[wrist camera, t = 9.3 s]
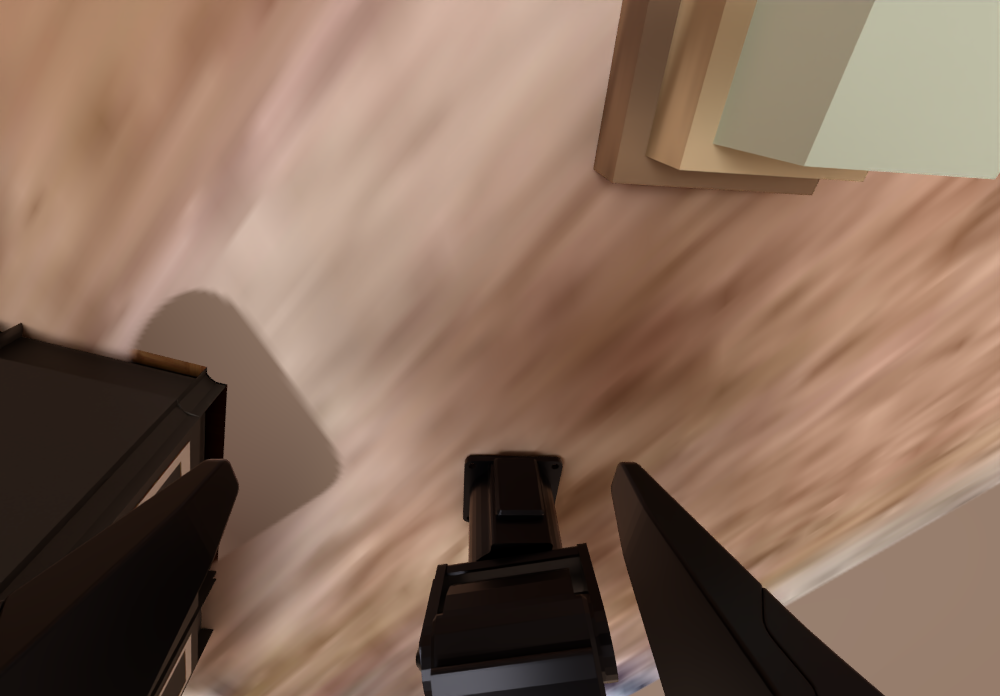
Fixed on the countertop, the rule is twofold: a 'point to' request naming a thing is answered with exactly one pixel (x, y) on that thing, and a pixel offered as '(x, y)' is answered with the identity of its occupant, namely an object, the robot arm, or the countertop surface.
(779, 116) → the cap block
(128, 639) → the robot arm
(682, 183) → the walnut base
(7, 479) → the treasure chest
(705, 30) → the oak middle block
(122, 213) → the countertop surface
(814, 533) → the countertop surface
